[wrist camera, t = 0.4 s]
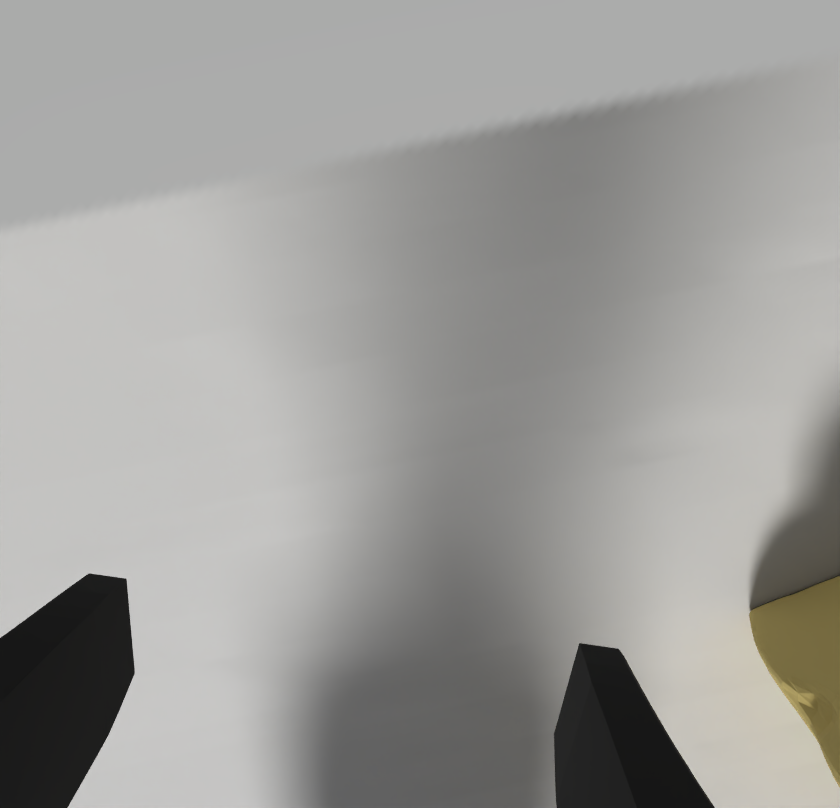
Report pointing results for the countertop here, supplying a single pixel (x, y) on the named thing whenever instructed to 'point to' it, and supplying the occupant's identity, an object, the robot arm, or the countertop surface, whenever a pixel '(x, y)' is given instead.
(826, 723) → the cheese
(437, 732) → the countertop surface
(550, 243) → the countertop surface
